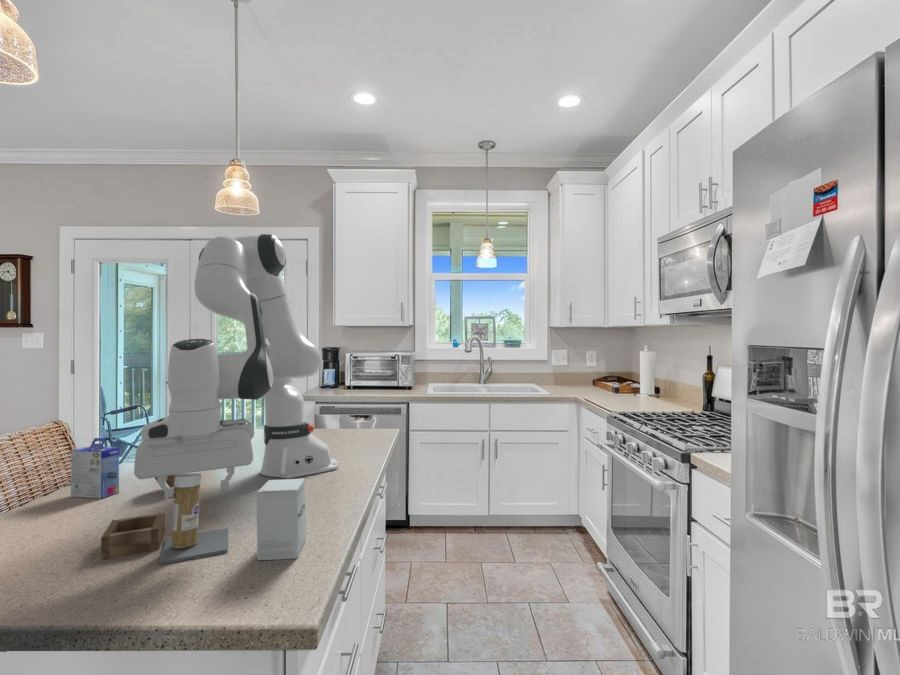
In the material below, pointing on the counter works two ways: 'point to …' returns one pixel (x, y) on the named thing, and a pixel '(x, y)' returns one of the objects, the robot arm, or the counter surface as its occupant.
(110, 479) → the ink cartridge box
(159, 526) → the walnut holder
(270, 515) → the supplement box
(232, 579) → the counter surface
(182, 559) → the rubber mat
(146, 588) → the counter surface
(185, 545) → the sprinkles bottle
